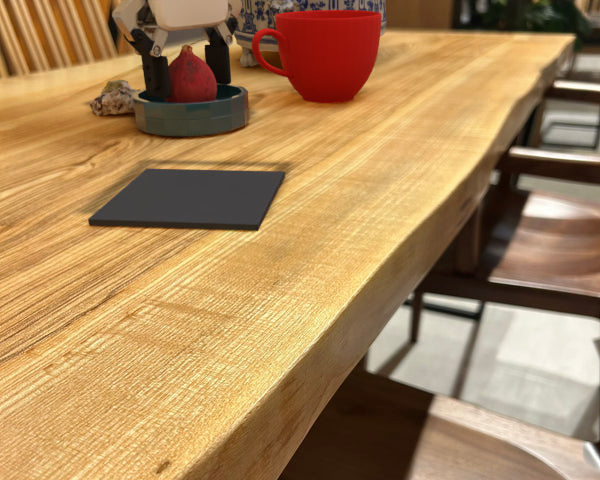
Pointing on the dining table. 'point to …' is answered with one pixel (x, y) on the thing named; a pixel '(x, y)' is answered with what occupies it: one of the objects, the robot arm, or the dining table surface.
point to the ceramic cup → (324, 51)
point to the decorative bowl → (267, 3)
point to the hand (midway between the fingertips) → (190, 88)
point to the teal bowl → (193, 113)
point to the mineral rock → (114, 99)
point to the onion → (191, 79)
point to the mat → (193, 200)
